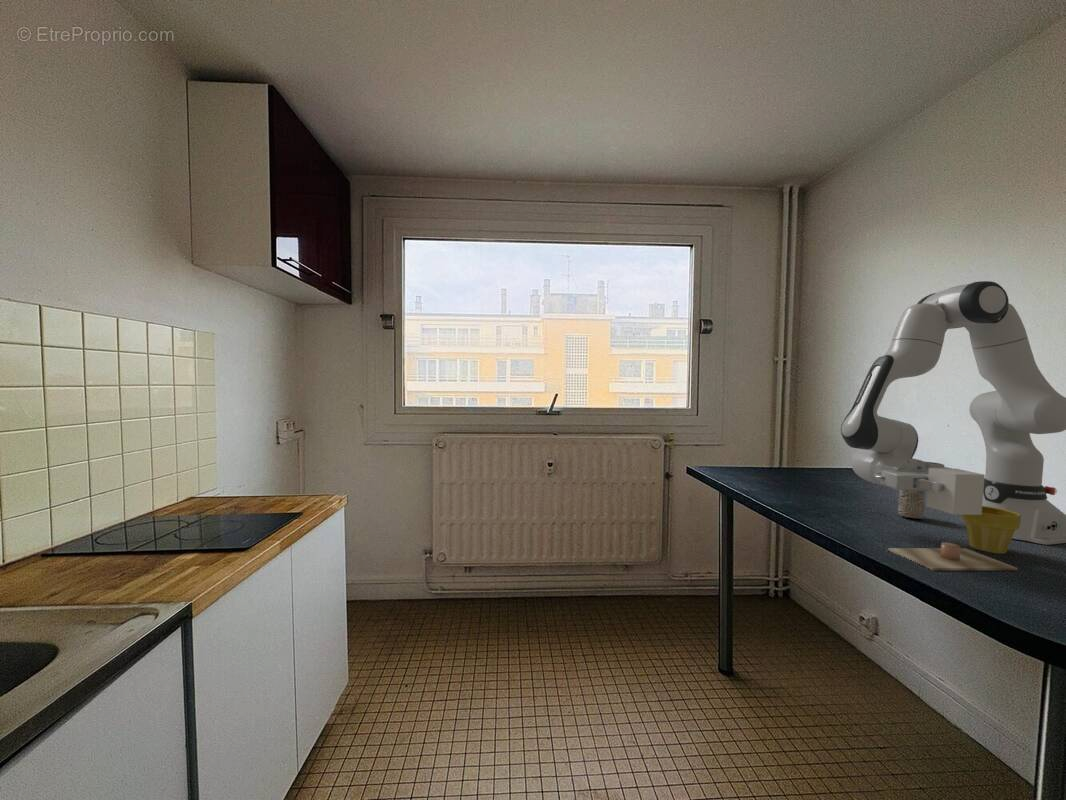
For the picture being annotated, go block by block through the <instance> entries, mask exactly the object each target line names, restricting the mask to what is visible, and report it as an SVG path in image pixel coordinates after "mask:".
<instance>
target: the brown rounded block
mask: <svg viewBox="0 0 1066 800" xmlns="http://www.w3.org/2000/svg"><path fill="white" fill-rule="evenodd" d="M940 548H941V552H940V556H941V557H943V558H945V559H949V560H960V549H961V548H962V547H961V545H959V544H956V543H952V542H947V541H943V542H941V543H940Z"/></svg>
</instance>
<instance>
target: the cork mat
mask: <svg viewBox="0 0 1066 800" xmlns="http://www.w3.org/2000/svg"><path fill="white" fill-rule="evenodd" d="M888 550H889V552H890V553H893V554H896V555H898V556H899V555H900V556H899V557H902V558H904V557H905V559H906V558H907V559H906V560H908V559H909V560H908V561H910V560H912V561H911V562H913V561H914V562H913V563H915V562H916V563H915V564H917V563H918V564H917V565H919V564H920V566H921V565H923V566H925V567H924V568H926V567H927V568H926V569H928V568H929V570H930V569H931V570H930V571H1018V570H1019V568H1018V567H1016V566H1013V565H1011V564H1009V563H1006V562H1003V561H1000V560H997V559H995V558H994V557H993V558H992V557H990V556H987V555H985V554H981V553H980V552H976V551H975V550H971V549H970V548H969V549H968V548H965V547H964V548H962V547H961V549H960V560H949V559H945V558H943V557H941V556H940V552H941V547H937V548H935V547H932V548H931V547H929V548H928V547H924V548H923V547H919V548H916V547H911V548H909V547H908V548H906V547H901V548H900V547H899V548H898V547H894V548H893V547H891V548H890V547H888V548H887V551H888ZM923 566H922V567H923Z"/></svg>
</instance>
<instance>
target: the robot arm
mask: <svg viewBox="0 0 1066 800" xmlns="http://www.w3.org/2000/svg"><path fill="white" fill-rule="evenodd" d="M1025 327H1026V326H1025V325H1024V323H1023V320H1022V318H1021V316H1020V315H1019V312H1018V311H1017V310H1016V308H1015V306H1014V305H1012V304H1011V303H1009V296H1008V293H1007V292H1006V290H1005V289H1004V287H1002V286H1001V285H1000V284H999V283H997V282H995V281H989V280H983V281H981V280H979V281H974V282H971V283H965V284H960V285H955V286H951V287H949V288H948V289H944V290H941V291H938V292H934V293H930V294H928V295H926V296H924V297H922V299H920V300H919V301H918V302H917V303H916V304H912V305H910V306H909V307H907V308H905V310H904V311H903V312H902V314H901V316H900V318H899V321H898V322H897V325H896V327H895V329H894V332H893V335H892V338H891V341H890V345H889V348H888V350H887V351H886V352H885V354H883V355H882V356H881V355H880V356H879V357H878V358H877V359H875V360H874V361H873V363H872V364H871V366H870V368H869V370H868V372H867V375H866V376H865V379H864V381H863V382H862V385H861V388H860V389H859V391H858V394H857V396H856V398H855V400H854V402H853V405H852V407H851V409H849V412H848V413H847V415H846V416H845V417H844V419H843V421H842V423H841V425H840V434H841V437H842V439H843V441H844V442H845V444H846V445H847V446H848V447H850V448H853V449H858V451H856V452H855V453H854V454H853V455H852V457H851V459H850V465H851V468H852V470H853V471H854V473H855V474H856V475H857V476H858V477H859V478H861V479H863V480H865V481H867V482H870V483H873V484H876V485H879V486H886V487H888V488H890V489H893V490H895V491H896V490H897V491H898V492H899V491H902V492H906V493H911V494H912V493H917V492H919V491H924V492H925V491H927V489H929V490H934V491H944V484H943V483H939V482H932V481H928V473H929V468H948V469H953V468H952V467H947V466H945V464H944V463H939V462H930V461H926V460H925V461H924V460H921V459H916V458H914V456H915V454H916V452H917V450H918V445H919V435H918V434H919V433H918V431H917V430H916V428H915V427H914V426H913V425H912V424H910V423H907V422H904V421H900V420H897V419H891V418H888V417H886V416H885V417H884V416H880V415H879V414H878V410H879V407H880V405H881V402H882V400H883V398H884V396H885V394H886V392H887V390H888V388H889V386H890V384H892V383H893V382H895V381H897V380H899V379H904V378H915V377H919V376H922V375H924V374H927V373H929V372H930V371H931V370H933V369H934V368H935V367H936V366H937V364H938V361H939V360H940V356H941V354H942V350H943V346H944V341H945V336H946V335H945V334H946V332H947V331H948V330H952V329H959V328H964V329H965V330H967V331H968V333H969V334H968V335H969V339H970V345H971V349H972V352H973V357H974V359H975V363H976V366H977V369H978V373H979V375H980V376H981V377H982V378H983V379H984V380H986V381H987V382H988V383H990V385H991V386H993V388H994V389H995V390H993V391H987V392H984V393H983V392H982V393H980V394H978V395H977V396H975V397H974V398H973V399H972V401H970V402H971V403H970V405H969V415H970V417H971V418H972V420H974V421H975V423H977V425H978V426H979V429H980V431H981V435H982V437H983V440H984V441H983V442H984V445H985V453H986V456H985V457H986V458H985V474H984V475H985V477H984V490H983V502H982V506H988V507H995V508H1000V509H1005V510H1009V511H1012V512H1016V513H1018V514H1020V516H1021V519H1020V526H1019V529H1017V530H1015V532H1014V534H1013V537H1012V539H1013V540H1019V541H1026V542H1031V543H1035V544H1039V545H1057V544H1059V545H1060V544H1066V514H1065V513H1064V512H1063V511H1062V510H1061V509H1059V508H1058V507H1057V506H1055V505H1054V504H1053V503H1051V502H1050V501H1049V500H1048V496H1047V494H1048V495H1049V496H1050V495H1051V496H1055V495H1056V494H1057V492H1058V490H1057V488H1056V487H1054V486H1053V487H1052V486H1051V487H1050V486H1047V485H1045V486H1044V485H1043V476H1044V475H1043V474H1044V473H1043V472H1044V462H1045V459H1044V455H1043V454H1042V453H1041V452H1040V450H1038V448H1037V447H1036V446H1035V444H1034V442H1033V440H1032V437H1031V434H1034V435H1047V434H1057V433H1061V432H1064V431H1066V397H1065V396H1064V395H1062V394H1060V393H1059V392H1058V391H1057V390H1056V389H1055V388H1054V387H1053V386H1052V385H1051V384H1050V383H1049V382H1048V380H1047V379H1046V378H1045V376H1044V374H1043V373H1042V371H1041V370H1040V368H1039V367H1038V365H1037V363H1036V360H1035V357H1034V355H1033V350H1032V347H1031V344H1030V341H1029V337H1028V334H1027V330H1026V328H1025ZM1012 539H1011V540H1012Z"/></svg>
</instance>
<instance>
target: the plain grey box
mask: <svg viewBox="0 0 1066 800" xmlns="http://www.w3.org/2000/svg"><path fill="white" fill-rule="evenodd" d="M948 468H949V467H948ZM948 468H929V473H928V481H932V482H939V483H943V484H944V491H934V490H929V489H927V490H926V502H925V507H928V508H931V509H935V510H938V511H941V512H944V513H947V514H950V515H961V516H962V515H982V502H983V490H984V478H985V474H984V473H979V472H974V471H969V470H964V469H960V468H952V469H948Z"/></svg>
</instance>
